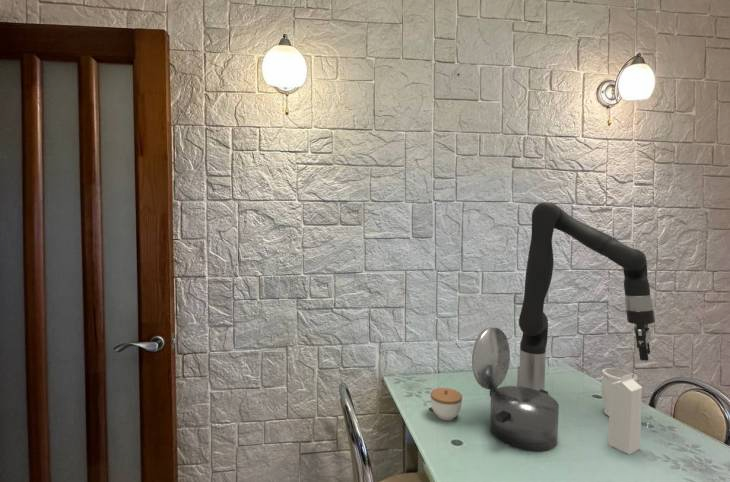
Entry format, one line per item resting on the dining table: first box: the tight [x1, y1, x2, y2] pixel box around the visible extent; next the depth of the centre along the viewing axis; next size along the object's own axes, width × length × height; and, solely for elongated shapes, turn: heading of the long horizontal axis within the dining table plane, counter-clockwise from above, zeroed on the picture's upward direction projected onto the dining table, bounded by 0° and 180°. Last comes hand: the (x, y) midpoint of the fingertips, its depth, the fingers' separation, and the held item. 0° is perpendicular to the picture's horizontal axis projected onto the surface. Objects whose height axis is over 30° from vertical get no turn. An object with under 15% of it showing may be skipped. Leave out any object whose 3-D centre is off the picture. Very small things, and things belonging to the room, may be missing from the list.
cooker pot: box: [489, 385, 560, 453], centre depth 123 cm, size 21×28×11 cm
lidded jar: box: [430, 387, 463, 421], centre depth 133 cm, size 11×11×9 cm
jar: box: [601, 367, 639, 417], centre depth 134 cm, size 11×10×15 cm
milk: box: [607, 374, 643, 455], centre depth 115 cm, size 6×6×22 cm
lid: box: [471, 326, 511, 391], centre depth 131 cm, size 20×20×3 cm
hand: (645, 356), depth 128 cm, fingers open, 8 cm apart
